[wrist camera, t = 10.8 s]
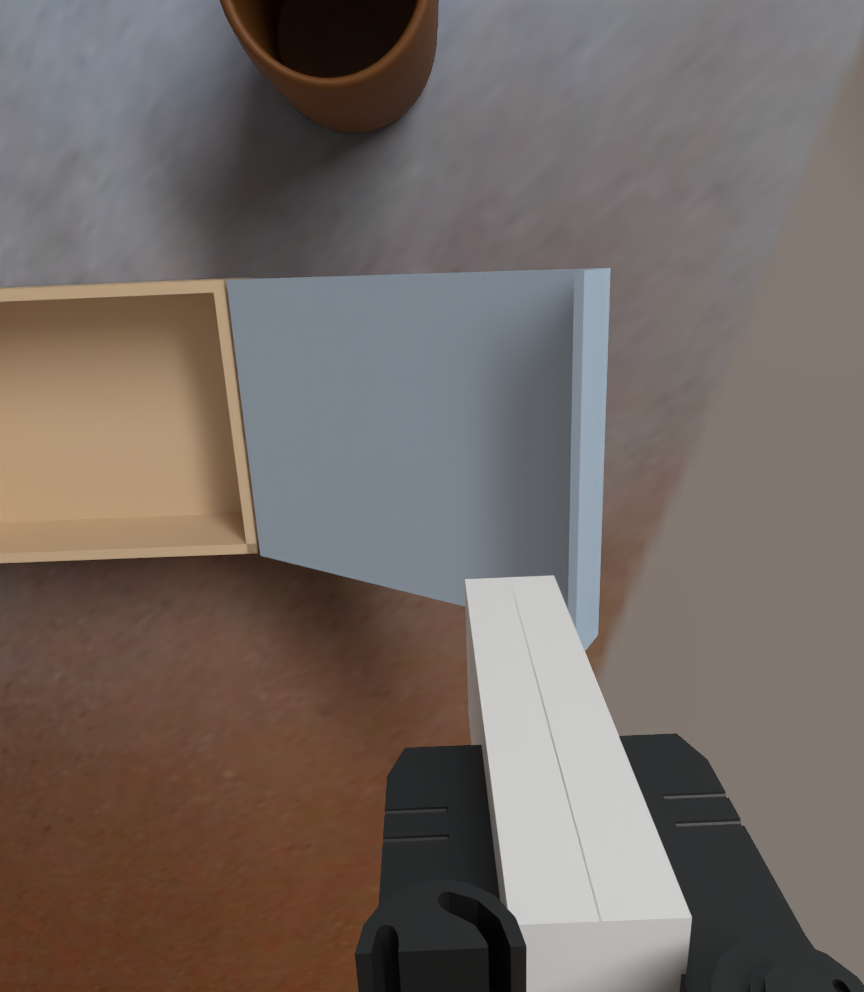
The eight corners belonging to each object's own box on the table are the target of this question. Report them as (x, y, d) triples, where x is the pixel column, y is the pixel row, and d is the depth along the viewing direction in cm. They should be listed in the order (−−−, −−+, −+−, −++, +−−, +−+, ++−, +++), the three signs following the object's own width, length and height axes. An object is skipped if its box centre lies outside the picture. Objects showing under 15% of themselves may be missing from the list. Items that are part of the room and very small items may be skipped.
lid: (575, 662, 24) (598, 635, 26) (584, 270, 20) (610, 267, 22) (230, 569, 33) (265, 553, 35) (190, 281, 29) (231, 279, 31)
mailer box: (-12, 529, 40) (-73, 565, 35) (-71, 290, 36) (-148, 295, 31) (278, 517, 40) (257, 553, 35) (251, 276, 36) (223, 279, 31)
